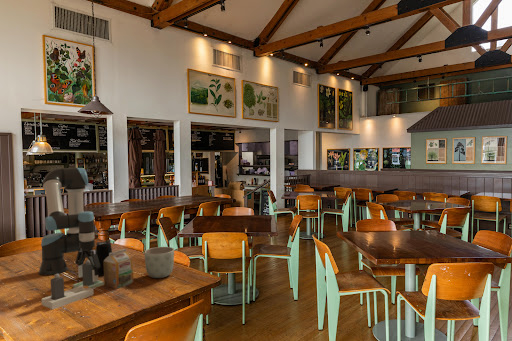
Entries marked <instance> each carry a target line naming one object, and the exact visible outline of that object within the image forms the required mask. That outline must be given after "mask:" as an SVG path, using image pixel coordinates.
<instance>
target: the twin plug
mask: <svg viewBox="0 0 512 341" xmlns="http://www.w3.org/2000/svg"><path fill="white" fill-rule="evenodd" d="M64 291H65V282H64V277H62V276H60V273H59V274H54V277H53V278H50V296H51V299H53V300H57V299H60V298H63V297H64Z"/></svg>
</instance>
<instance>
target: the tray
mask: <svg viewBox="0 0 512 341" xmlns="http://www.w3.org/2000/svg"><path fill="white" fill-rule="evenodd" d="M82 285H83V281H80V282H76V283H73V284H72V287H73V288H76V287H79V286H82ZM102 286H104V280H103V281H102V280H99V279H98V281H95V282H94V285H91V286H89V288H92V289H93V290H94V289H96V288H98V287H102ZM73 288H72V289H73Z"/></svg>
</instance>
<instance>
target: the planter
mask: <svg viewBox="0 0 512 341" xmlns="http://www.w3.org/2000/svg"><path fill="white" fill-rule="evenodd" d="M174 260H175V248H173V247H170V246H157V247H151V248H148V249H146V250H144V261H145V262H144V263H145V264H144V265H145V270H146V273H147V275H148V276H149V277H150V278H153V279H162V278H166V277H168V276H170V275H171V274H172V272H173V270H174Z"/></svg>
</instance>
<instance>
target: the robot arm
mask: <svg viewBox="0 0 512 341" xmlns="http://www.w3.org/2000/svg"><path fill="white" fill-rule="evenodd" d="M42 186H43V187H42V188H43V189H44V191H45V196H46V204H47V212H48V216H46V217H45V219H44V223H45V230H46V231H58V230H59V231H60V230H66V229H67V230H66V234H63V233H62V232H54V233H51V234H47V235H44V236H43V237H42V238H41V244H40V246H41V263H40V266H39V270H38V274H39V275H41V276H52V275H53V276H55V274H59V275H60V274H61V273H65V272H66V271H67V270H68V265H67V263H66V260H65V258H64V255H65V254H67V253H76V252H77V254H76V257H75V258H76V259H75V264H76V265H77V267H78V268H77V269H78V270H77V271H78V273H77V274H78V278H83V272H82V264H84V262H85V261H86V259H87V260H89V261H90V263H91V265H92V267H93V269H92V273H93V282H95V281H98V280H99V275H98V269H99V268H101V265H100V262H99V259H98V256H97V250H96V249H95V250H94V249H93V248H94V247H95V246H96V245H95V244H96V243H95V242H96V241H95V216H94V212H93V211H87V210H86V211H84V191H85V189H86V187H87V186H89V178H88V174H87V170H86V169H85V168H83V167H64V168H63V167H62V168H60V167H59V168H54V169H52V170H51V171H49V172H48V173H47V174H46V175H45V177H44V178H43V181H42ZM61 188H64V190H65V191H66V192H67V202H68V203H67V204H68V205H67V206H68V214H65V211H64V205H63V204H64V203H63V197H62V192H61Z"/></svg>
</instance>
